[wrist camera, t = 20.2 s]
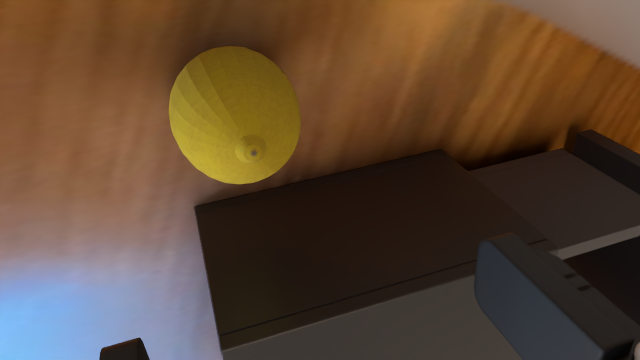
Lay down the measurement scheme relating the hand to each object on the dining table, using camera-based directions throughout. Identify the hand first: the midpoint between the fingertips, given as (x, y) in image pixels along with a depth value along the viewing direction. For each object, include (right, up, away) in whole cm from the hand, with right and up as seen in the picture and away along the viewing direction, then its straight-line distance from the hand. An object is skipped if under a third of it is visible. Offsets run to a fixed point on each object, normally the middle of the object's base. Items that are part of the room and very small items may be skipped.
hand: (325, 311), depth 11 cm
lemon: (-5, +8, +14) cm, 17 cm away
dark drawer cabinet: (+1, -2, +21) cm, 21 cm away
